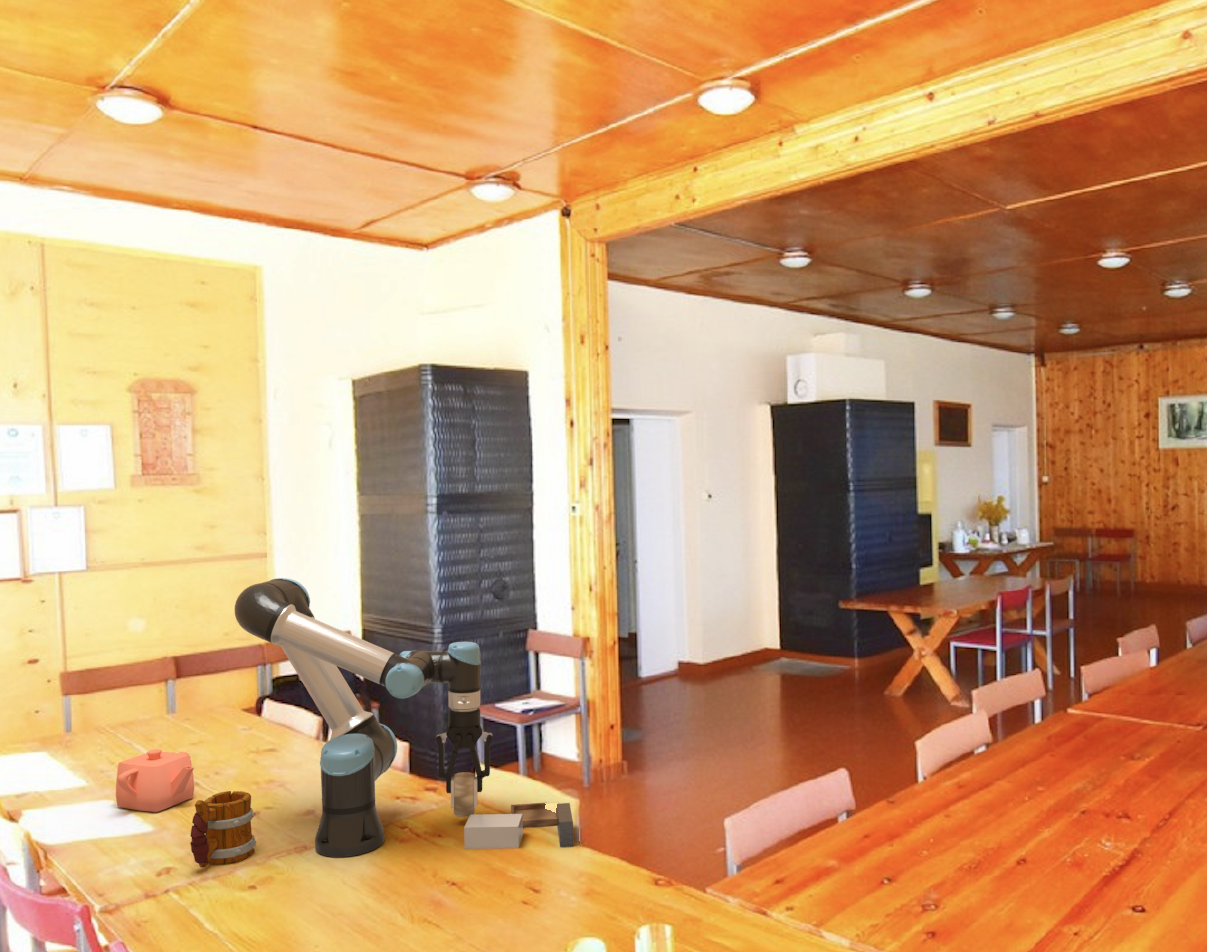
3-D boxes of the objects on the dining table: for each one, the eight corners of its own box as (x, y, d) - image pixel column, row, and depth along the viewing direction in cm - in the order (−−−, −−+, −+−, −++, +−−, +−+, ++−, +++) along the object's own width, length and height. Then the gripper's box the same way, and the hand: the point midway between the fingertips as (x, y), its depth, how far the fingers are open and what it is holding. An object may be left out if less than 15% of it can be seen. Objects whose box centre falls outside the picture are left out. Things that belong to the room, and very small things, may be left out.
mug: (266, 848, 211) (264, 781, 212) (214, 878, 196) (212, 806, 196) (227, 843, 215) (225, 778, 215) (173, 872, 199) (171, 802, 200)
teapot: (98, 815, 237) (96, 760, 237) (168, 787, 258) (166, 737, 258) (156, 823, 230) (155, 766, 230) (224, 794, 250) (222, 742, 250)
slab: (464, 850, 207) (463, 827, 207) (471, 836, 215) (470, 814, 215) (518, 849, 207) (518, 826, 207) (523, 835, 215) (522, 813, 215)
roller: (452, 817, 221) (453, 779, 221) (454, 810, 226) (454, 772, 226) (474, 816, 221) (474, 778, 221) (475, 809, 226) (475, 772, 226)
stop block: (560, 847, 207) (559, 822, 207) (557, 827, 219) (556, 803, 219) (573, 846, 207) (572, 821, 207) (570, 826, 219) (569, 802, 219)
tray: (510, 828, 219) (510, 821, 219) (511, 811, 230) (510, 804, 230) (560, 825, 220) (560, 818, 220) (558, 808, 231) (558, 801, 231)
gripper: (425, 712, 219) (425, 812, 219) (501, 711, 221) (501, 810, 221) (428, 705, 227) (428, 801, 226) (502, 703, 228) (502, 799, 228)
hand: (464, 805), depth 224 cm, fingers closed on roller, 5 cm apart
